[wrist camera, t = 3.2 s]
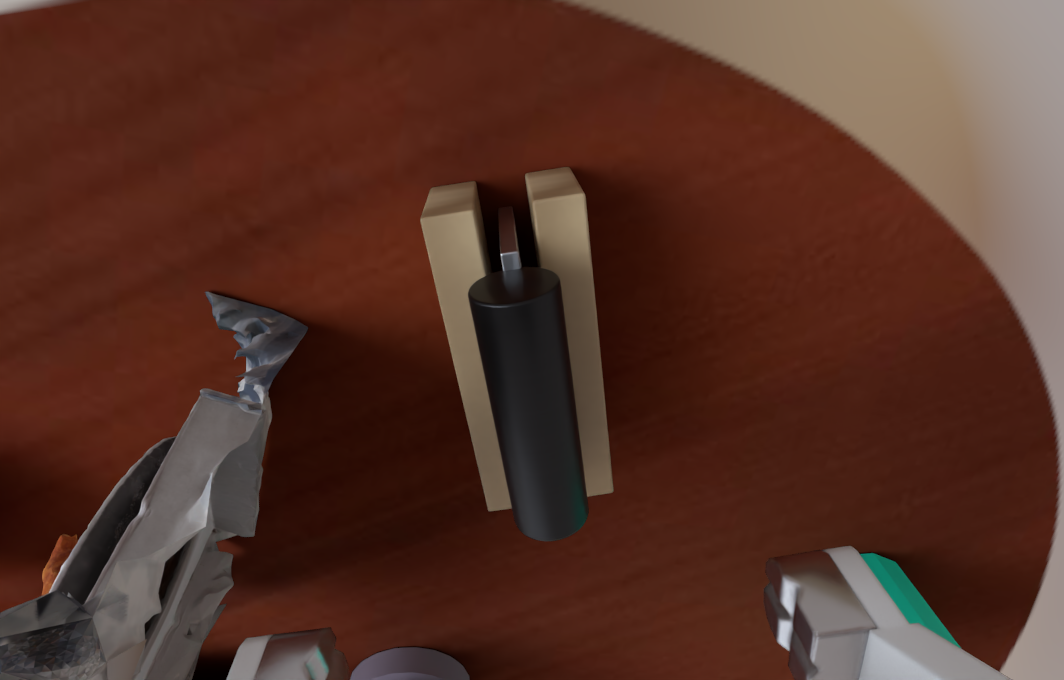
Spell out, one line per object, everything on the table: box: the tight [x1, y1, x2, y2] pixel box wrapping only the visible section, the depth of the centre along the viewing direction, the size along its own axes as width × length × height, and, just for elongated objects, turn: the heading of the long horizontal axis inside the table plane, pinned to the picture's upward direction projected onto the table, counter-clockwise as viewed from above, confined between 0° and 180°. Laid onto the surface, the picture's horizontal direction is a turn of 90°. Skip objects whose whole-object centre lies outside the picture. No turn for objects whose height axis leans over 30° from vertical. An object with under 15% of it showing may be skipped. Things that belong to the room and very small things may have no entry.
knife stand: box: [420, 167, 613, 512], centre depth 20 cm, size 5×11×4 cm, turn 8°
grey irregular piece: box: [0, 291, 308, 680], centre depth 18 cm, size 15×4×13 cm, turn 158°
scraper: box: [468, 206, 589, 541], centre depth 19 cm, size 2×9×7 cm, turn 8°
